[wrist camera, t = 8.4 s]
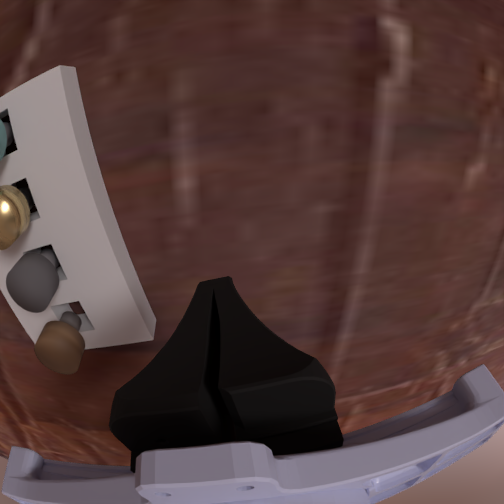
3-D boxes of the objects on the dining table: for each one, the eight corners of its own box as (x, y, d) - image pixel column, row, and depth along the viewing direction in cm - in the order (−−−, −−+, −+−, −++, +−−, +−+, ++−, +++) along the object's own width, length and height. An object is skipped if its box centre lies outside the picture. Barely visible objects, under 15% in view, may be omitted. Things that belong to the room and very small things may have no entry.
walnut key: (99, 333, 22) (87, 372, 19) (65, 338, 22) (51, 375, 18) (79, 298, 20) (62, 337, 17) (45, 305, 20) (25, 341, 17)
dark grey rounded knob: (76, 274, 21) (58, 309, 17) (42, 282, 21) (22, 315, 17) (58, 232, 19) (33, 262, 15) (23, 243, 19) (-3, 273, 15)
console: (156, 319, 26) (153, 340, 23) (49, 335, 25) (42, 353, 23) (75, 67, 15) (59, 65, 13) (-39, 132, 15) (-57, 138, 12)
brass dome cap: (51, 215, 18) (23, 242, 15) (16, 227, 18) (-12, 255, 14) (34, 167, 16) (2, 187, 13) (0, 183, 16) (-32, 205, 13)
